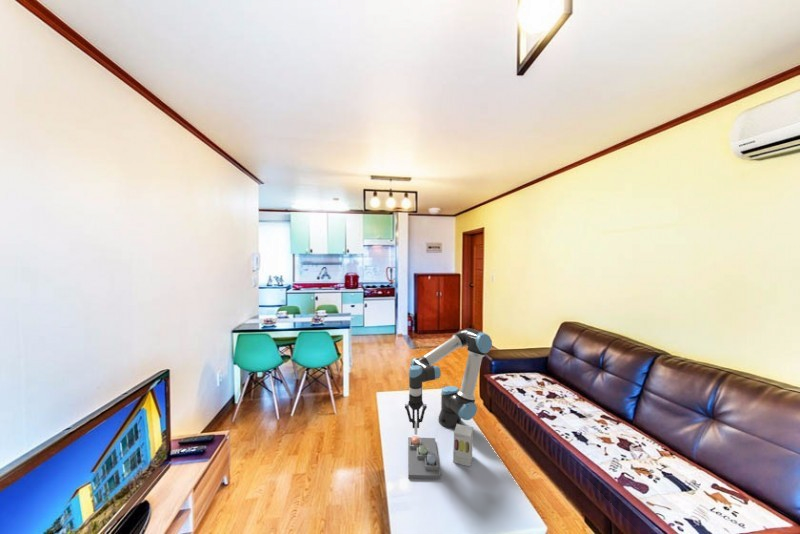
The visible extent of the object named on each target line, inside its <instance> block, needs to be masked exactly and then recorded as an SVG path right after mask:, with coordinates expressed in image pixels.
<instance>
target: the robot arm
mask: <svg viewBox="0 0 800 534" xmlns="http://www.w3.org/2000/svg"><path fill="white" fill-rule="evenodd" d="M465 346H466V347H467V348H466V350H467V352H468V354H467V361H466V363H465V369H464V373H463V377H462V381H461V386H460V388H459V387H457V386H453V385H449V386H447V385H446V386H444V387H442V389H441V393H440V394H441V395H440V396H441V398H440V400H441V401H440V405H441V407H440V408H441V409H440V412H439V415H438V423H439V425H441V426H442V427H444V428H448V429H455V428H456V425H457V424H460V425H462V420H464V421H470V420H472V419H473V418H474V417H475V416H476V414H477V412H478V407H477V405H476V397H475V390H476V386H477V383H478V379H479V378H478V377H479V374H480V369H481V365H482V361H483V358H484V357H485V356H487V355H486V354H488V353H489V352H490V351H491V349H492V347H493V341H492V339H491V336H490V335H488V334H487V333H485V332H483V331H479V330H477V329H473V328H464V329H461V330H460V331H457V332H456V333H454V334H453V335H452V336H451V338H449V339H448V340H446V341H444V342H443V343H442V344H441V343H440V345H438V346H437V347H435V348H434V349H432V350H431V351H428V352H427V353H425V355H423V356H421V357H415V358H413V359H412V360H411V361H410V366H409V369H408V403H405V404H404V409H405V410H406V414H407V417H408V421H409V423H412V429H414V436H416V435H417V436H418V429H419V428H420V423H423V420H424V416H425V411H426V410H427V408H428V406H427V404H426V403H424V401H423V383H425V382H429V381H435V380H437V379H440V378H441V372H442V371H441V368H440V367H439V365H434V364H436V363H438V362H439V361H441V360H442V359H444V358H445V357H447V356H448V355H449V354H451V353H452V352H454V351H455V350H458V349H459V348H460V349H461V348H463V347H465ZM410 409H411V410H412V415H411V411H410ZM420 409H422V410H421V414H420ZM415 411H416V413H415ZM415 414H416V418H415ZM415 419H416V420H415Z"/></svg>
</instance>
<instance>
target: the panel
mask: <svg viewBox="0 0 800 534" xmlns="http://www.w3.org/2000/svg"><path fill="white" fill-rule="evenodd" d="M412 437H413V436H412ZM412 437H408V439H407V441H408V442H407V443H408V444H407V447H408V448H407V450H408V451H407V453H408V455H407V456H408V457H407V460H408V465H407V466H408V468H407V469H408V470H407V471H408V472H407V473H408V475H407V476H408V479H409V480H410V479H414V480H418V479H419V480H441V471H440V465H439V456H438V451H437V444H436V443H437V442H436V438H435V437H418V438H419V445H411V438H412ZM421 445H424V446H426V447H427V454H428V453H434V454H435V455H436V463H435V464H434V465H429V464H428V463H427V455H419V446H421Z"/></svg>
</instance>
